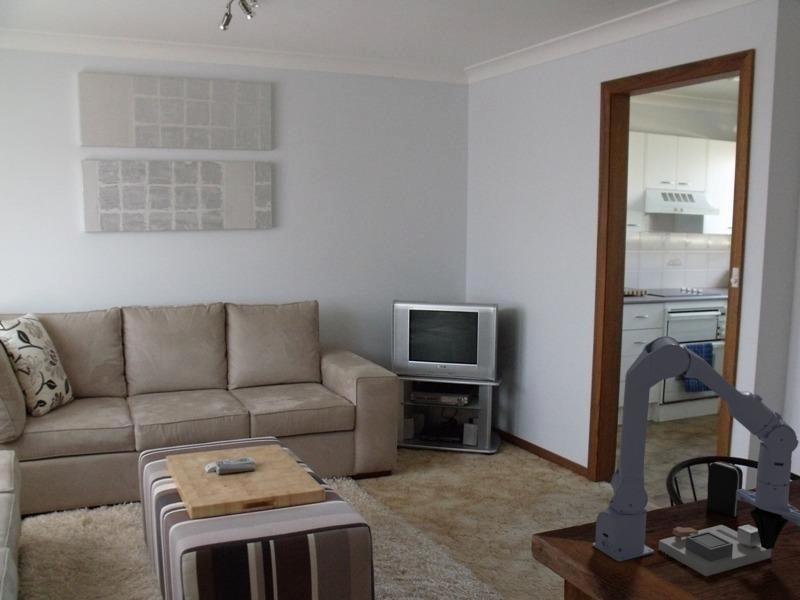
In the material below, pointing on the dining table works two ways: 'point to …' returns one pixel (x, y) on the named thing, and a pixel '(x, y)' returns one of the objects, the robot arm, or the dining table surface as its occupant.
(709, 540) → the push button
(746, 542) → the slider knob
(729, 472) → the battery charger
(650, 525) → the dining table surface
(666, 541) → the control panel
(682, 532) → the rocker switch
